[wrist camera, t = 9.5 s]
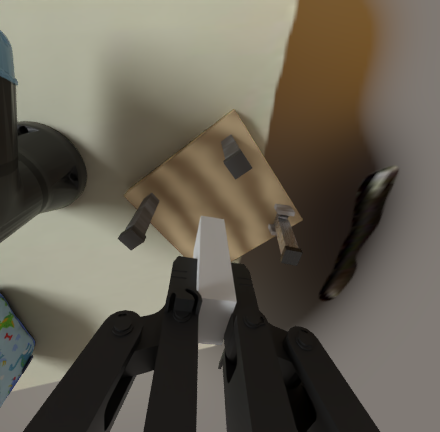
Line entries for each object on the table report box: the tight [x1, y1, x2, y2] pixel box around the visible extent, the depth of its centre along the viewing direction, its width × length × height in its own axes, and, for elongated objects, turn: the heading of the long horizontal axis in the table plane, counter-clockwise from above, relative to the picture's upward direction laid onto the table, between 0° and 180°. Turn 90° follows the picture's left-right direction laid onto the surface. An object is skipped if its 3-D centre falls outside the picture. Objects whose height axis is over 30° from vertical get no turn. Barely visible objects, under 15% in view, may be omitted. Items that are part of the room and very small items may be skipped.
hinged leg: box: [273, 214, 302, 266], centre depth 40 cm, size 13×3×2 cm
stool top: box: [118, 109, 303, 261], centre depth 40 cm, size 24×24×16 cm
